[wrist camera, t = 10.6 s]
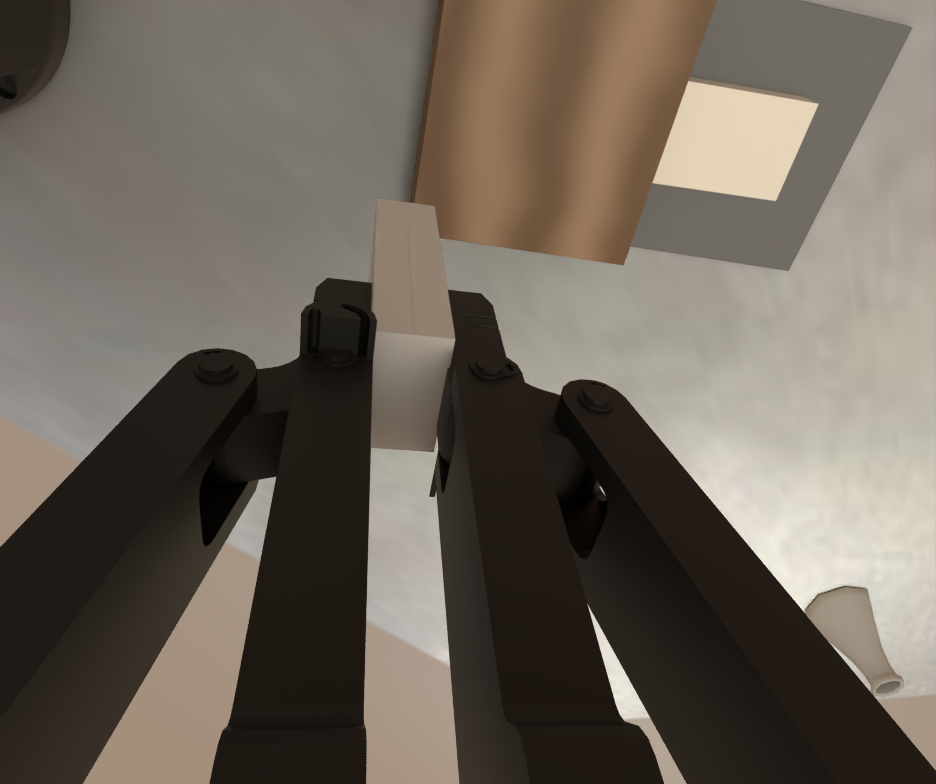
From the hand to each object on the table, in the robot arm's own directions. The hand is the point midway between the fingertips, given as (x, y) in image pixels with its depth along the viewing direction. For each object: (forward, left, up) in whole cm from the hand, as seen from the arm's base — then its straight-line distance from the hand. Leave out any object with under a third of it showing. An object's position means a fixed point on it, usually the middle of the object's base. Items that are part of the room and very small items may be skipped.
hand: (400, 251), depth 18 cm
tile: (+20, 0, -26) cm, 33 cm away
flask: (+56, -46, -26) cm, 77 cm away
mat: (+23, 0, -26) cm, 35 cm away
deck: (+9, 0, -26) cm, 27 cm away
